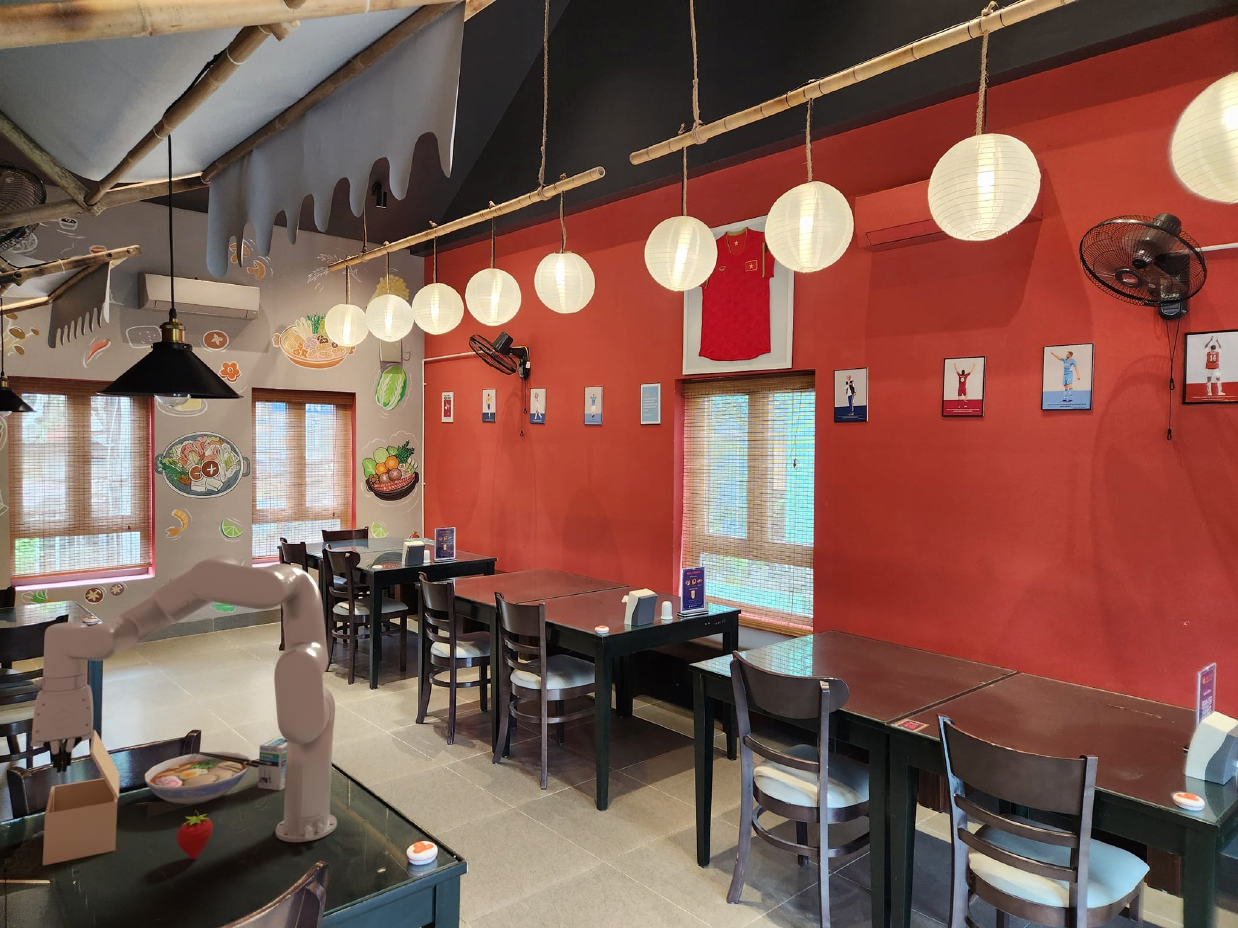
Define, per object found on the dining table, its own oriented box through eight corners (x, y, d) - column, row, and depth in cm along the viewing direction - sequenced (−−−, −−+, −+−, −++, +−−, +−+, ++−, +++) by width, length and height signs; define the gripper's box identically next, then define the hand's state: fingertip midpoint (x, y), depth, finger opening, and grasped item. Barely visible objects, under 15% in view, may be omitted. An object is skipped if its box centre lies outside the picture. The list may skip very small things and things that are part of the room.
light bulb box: (280, 791, 187) (282, 747, 187) (256, 788, 188) (258, 745, 188) (306, 774, 197) (307, 733, 198) (283, 772, 199) (285, 731, 199)
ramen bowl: (116, 807, 176) (117, 772, 176) (203, 773, 197) (204, 741, 197) (192, 828, 166) (193, 791, 166) (274, 790, 187) (276, 757, 188)
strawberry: (167, 867, 150) (169, 816, 150) (192, 848, 157) (194, 800, 157) (195, 869, 149) (197, 818, 149) (219, 850, 157) (221, 802, 157)
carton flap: (116, 799, 156) (118, 797, 156) (89, 753, 154) (92, 751, 154) (116, 773, 169) (119, 772, 169) (92, 730, 167) (95, 729, 167)
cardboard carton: (115, 850, 156) (117, 801, 156) (42, 865, 149) (44, 814, 149) (116, 820, 169) (117, 775, 169) (49, 832, 162) (51, 786, 163)
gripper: (17, 691, 150) (14, 783, 150) (107, 681, 159) (104, 769, 158) (22, 682, 157) (18, 771, 156) (108, 673, 165) (105, 757, 164)
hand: (61, 769), depth 157 cm, fingers closed
